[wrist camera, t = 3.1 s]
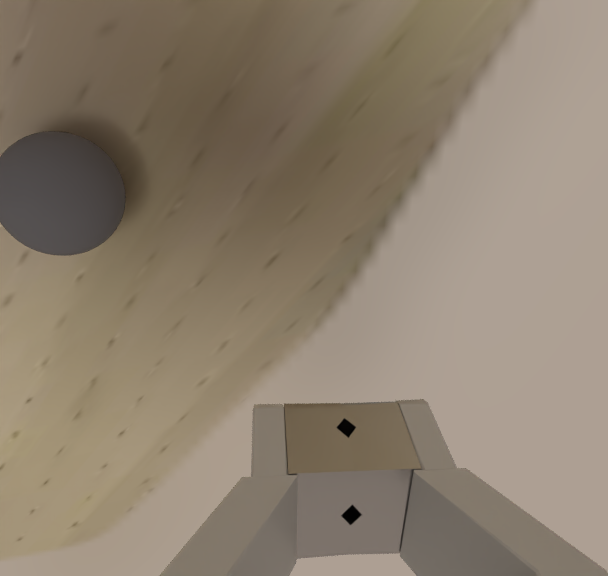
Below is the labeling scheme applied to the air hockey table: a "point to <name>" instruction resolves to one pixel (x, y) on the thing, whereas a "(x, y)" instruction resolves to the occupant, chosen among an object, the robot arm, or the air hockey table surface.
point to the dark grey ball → (59, 193)
